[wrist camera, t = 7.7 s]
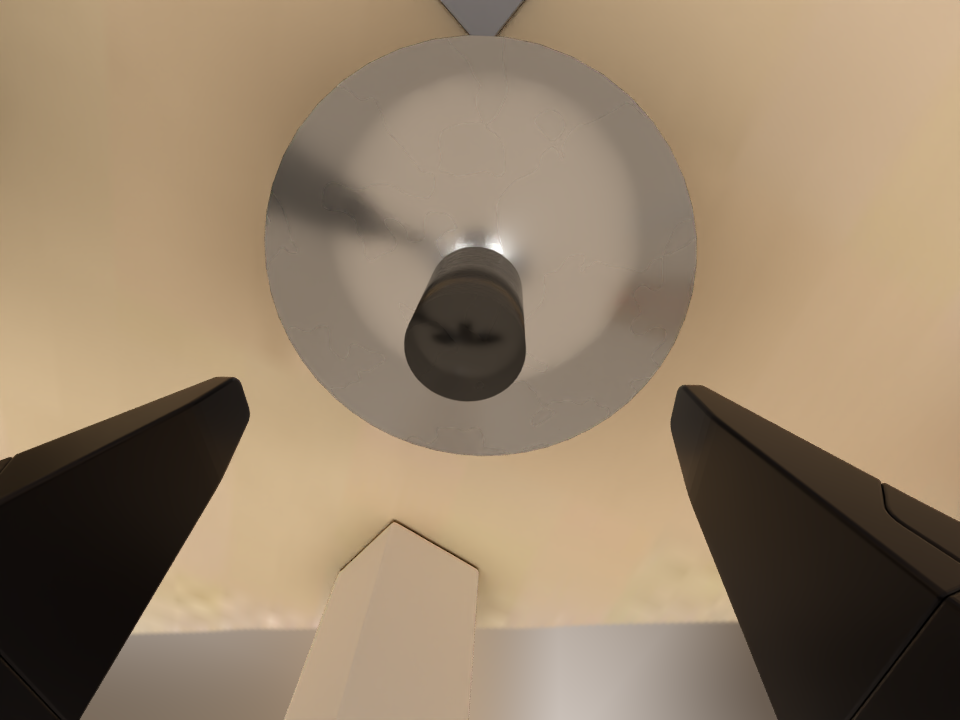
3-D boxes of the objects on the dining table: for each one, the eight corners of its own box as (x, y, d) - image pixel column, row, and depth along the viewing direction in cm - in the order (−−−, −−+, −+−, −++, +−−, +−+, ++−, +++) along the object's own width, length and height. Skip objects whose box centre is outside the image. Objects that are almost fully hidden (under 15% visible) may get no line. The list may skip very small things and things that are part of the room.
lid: (203, 284, 16) (93, 347, 12) (467, -108, 11) (440, -246, 6) (482, 493, 20) (474, 595, 16) (772, 284, 15) (876, 354, 11)
